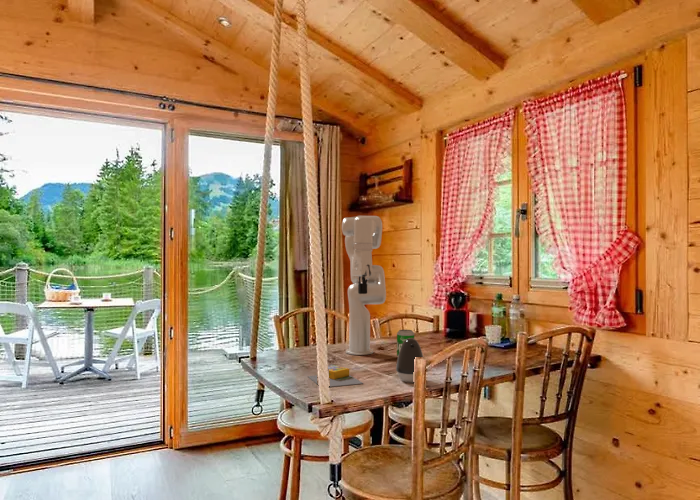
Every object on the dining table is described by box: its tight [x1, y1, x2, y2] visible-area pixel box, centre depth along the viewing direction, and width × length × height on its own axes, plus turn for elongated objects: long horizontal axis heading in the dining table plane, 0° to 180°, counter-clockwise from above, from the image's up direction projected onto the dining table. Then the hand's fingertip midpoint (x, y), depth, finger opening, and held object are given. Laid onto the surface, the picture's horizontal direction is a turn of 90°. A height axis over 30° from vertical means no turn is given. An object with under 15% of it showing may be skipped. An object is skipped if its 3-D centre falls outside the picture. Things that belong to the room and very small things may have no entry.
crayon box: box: [327, 364, 354, 381], centre depth 180 cm, size 7×3×12 cm
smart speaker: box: [395, 338, 424, 384], centre depth 176 cm, size 10×10×15 cm
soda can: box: [396, 329, 415, 357], centre depth 214 cm, size 8×8×12 cm
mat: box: [307, 374, 364, 388], centre depth 175 cm, size 16×15×1 cm
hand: (362, 293), depth 198 cm, fingers closed
